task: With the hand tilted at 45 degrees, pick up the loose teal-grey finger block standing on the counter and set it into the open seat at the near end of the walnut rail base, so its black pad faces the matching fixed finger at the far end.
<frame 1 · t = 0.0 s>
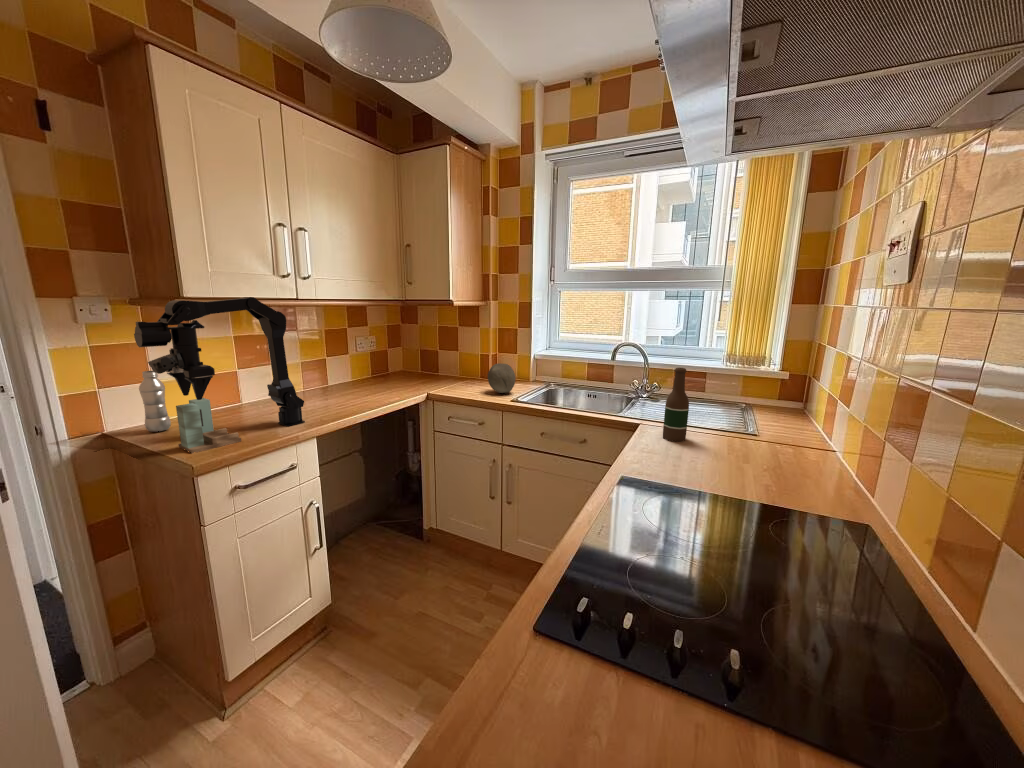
hand: (192, 397, 120), 15 cm above the worktop, tool pointing down, fingers open, 9 cm apart
finger block: (204, 436, 131), on the worktop
beer bottle: (673, 439, 137), on the worktop
rail: (210, 444, 124), on the worktop
plastic bottle: (159, 431, 135), on the worktop
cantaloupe: (501, 393, 202), on the worktop
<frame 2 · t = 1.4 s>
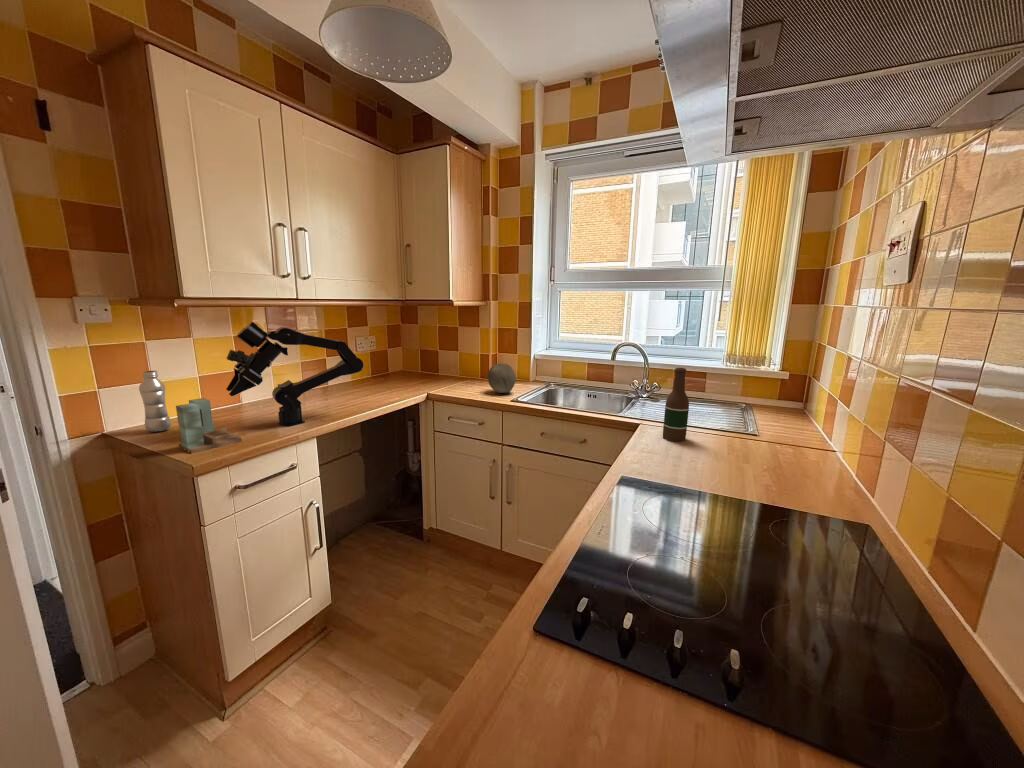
hand: (228, 392, 133), 13 cm above the worktop, tool tilted 45°, fingers open, 9 cm apart
nothing on the worktop moved.
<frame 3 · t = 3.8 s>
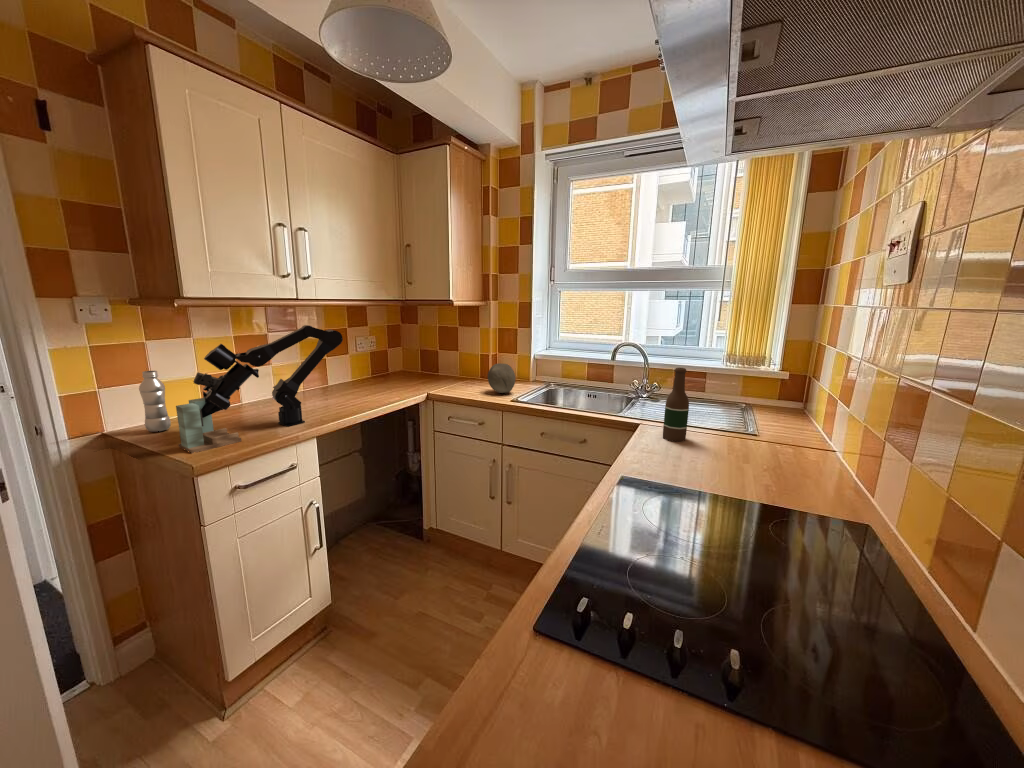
hand: (195, 417, 129), 7 cm above the worktop, tool tilted 45°, fingers closed on finger block, 5 cm apart
finger block: (204, 436, 131), on the worktop, touching gripper
everything else where it was.
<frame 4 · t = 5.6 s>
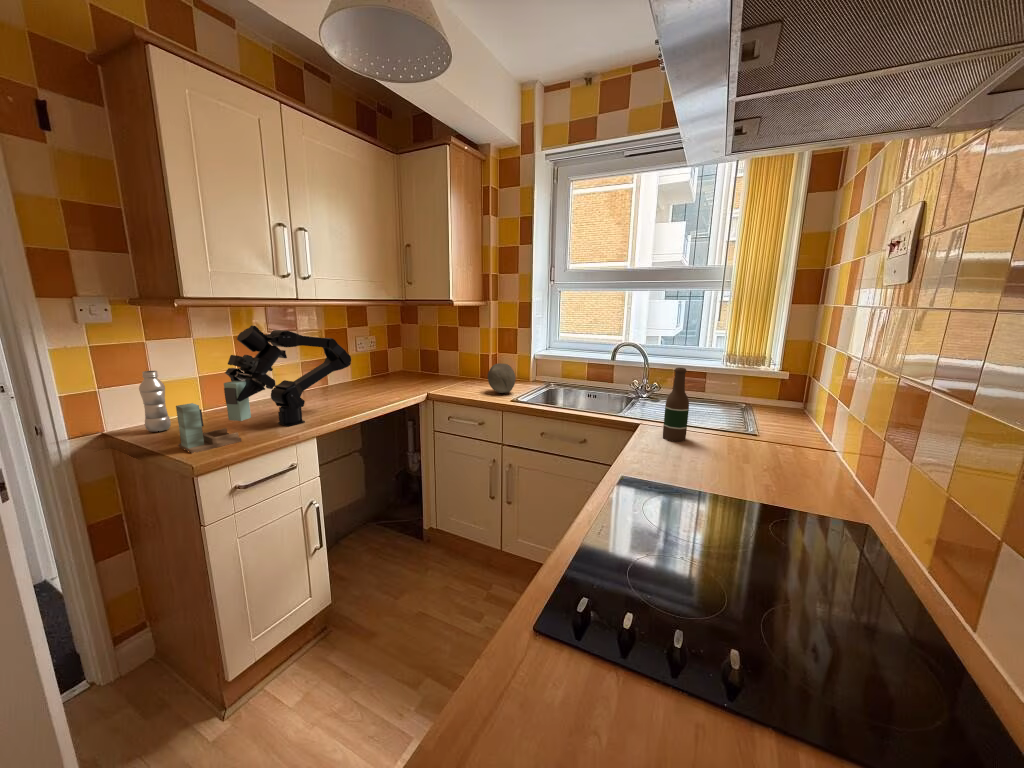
hand: (232, 399, 128), 12 cm above the worktop, tool tilted 45°, fingers closed on finger block, 5 cm apart
finger block: (240, 418, 130), point 6 cm above the worktop, touching gripper
everything else where it was.
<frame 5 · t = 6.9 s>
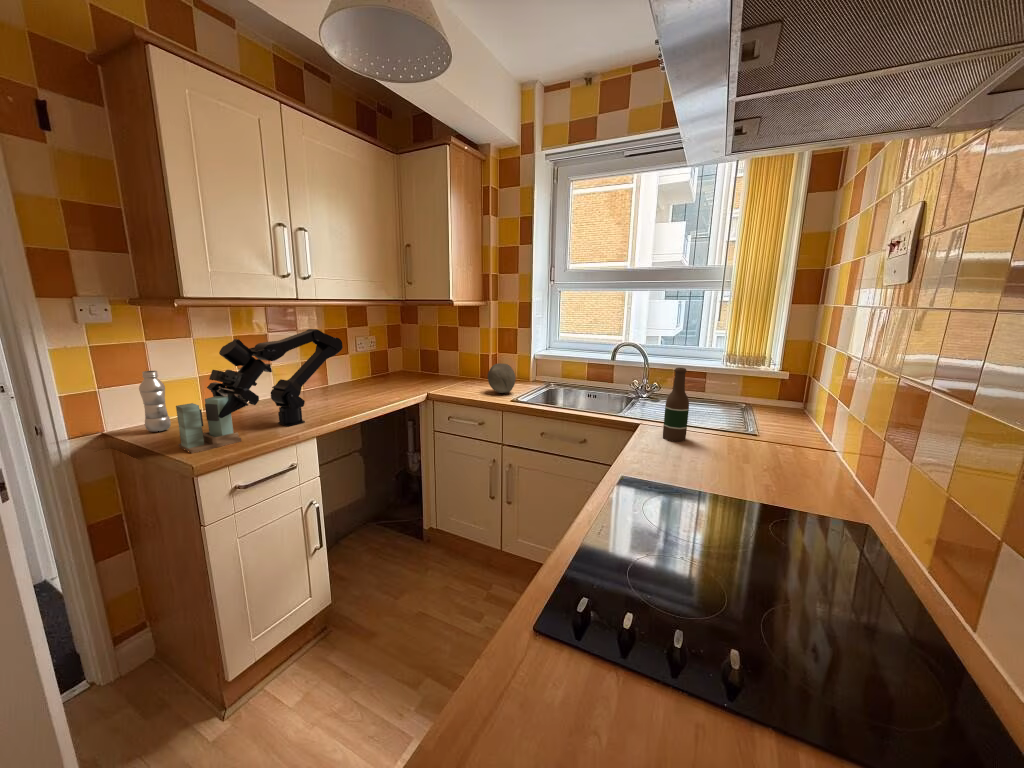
hand: (214, 416, 124), 8 cm above the worktop, tool tilted 45°, fingers closed on finger block, 5 cm apart
finger block: (221, 435, 126), point 2 cm above the worktop, touching gripper
everything else where it was.
when the fingers open (8 cm above the worktop, at t = 7.7 s): finger block stays where it is, resting on rail.
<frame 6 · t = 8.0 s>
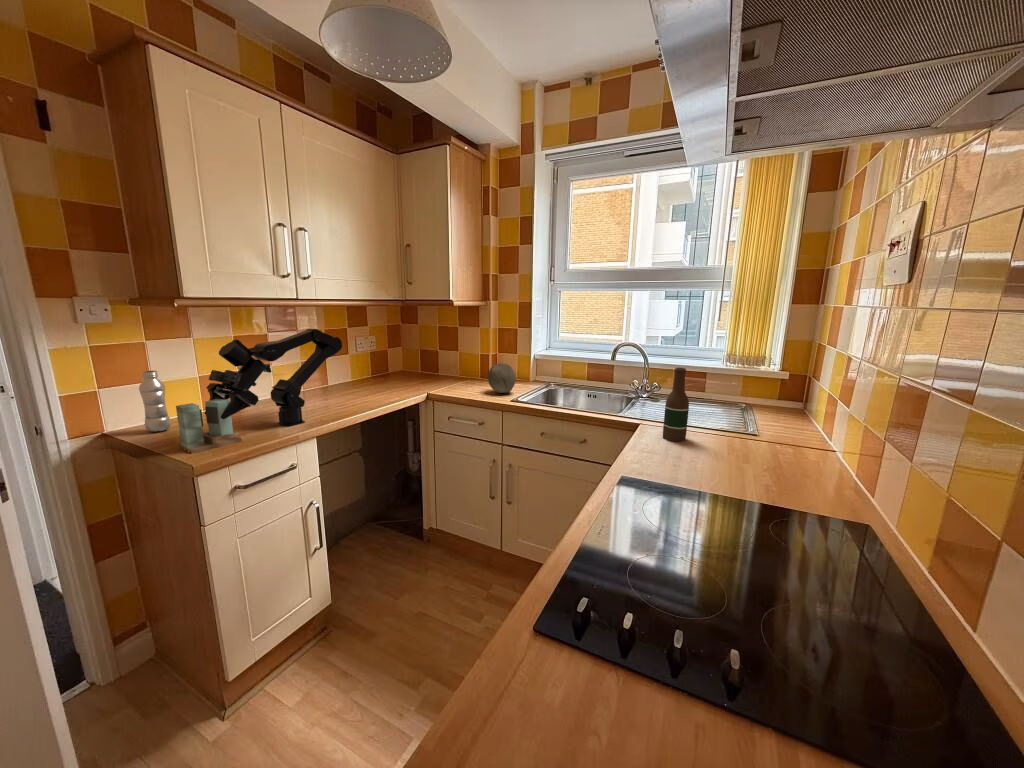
hand: (213, 416, 123), 8 cm above the worktop, tool tilted 45°, fingers open, 8 cm apart
finger block: (221, 438, 126), point 1 cm above the worktop, touching rail
everything else where it was.
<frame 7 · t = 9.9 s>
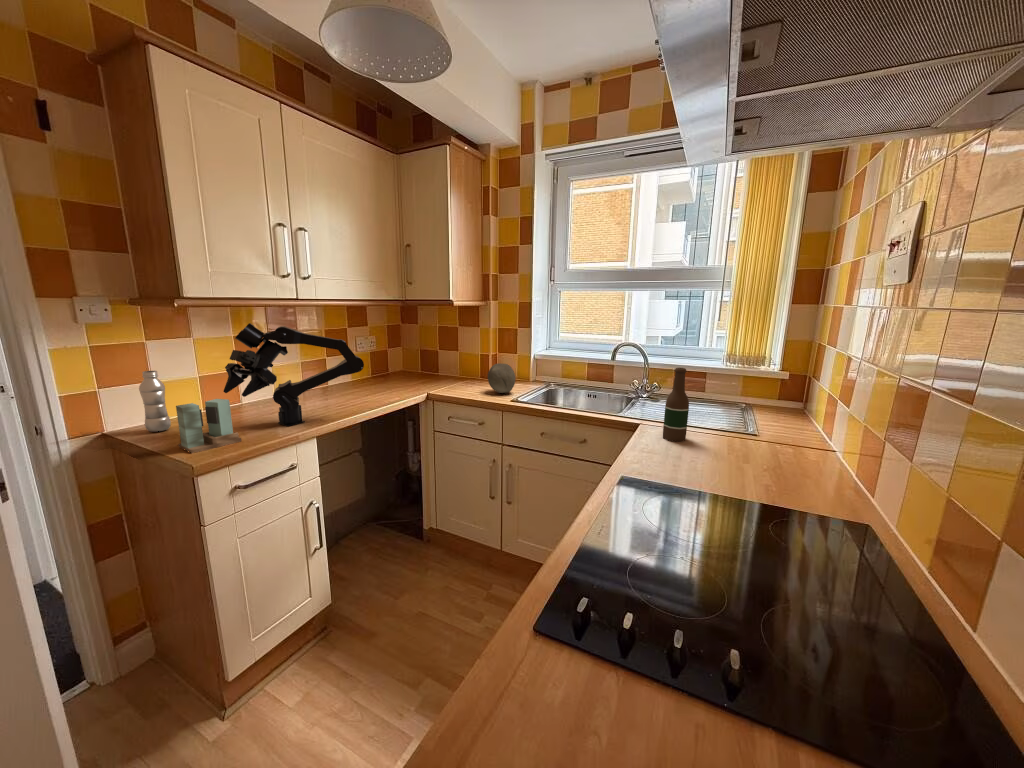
hand: (233, 394, 130), 14 cm above the worktop, tool tilted 45°, fingers open, 9 cm apart
nothing on the worktop moved.
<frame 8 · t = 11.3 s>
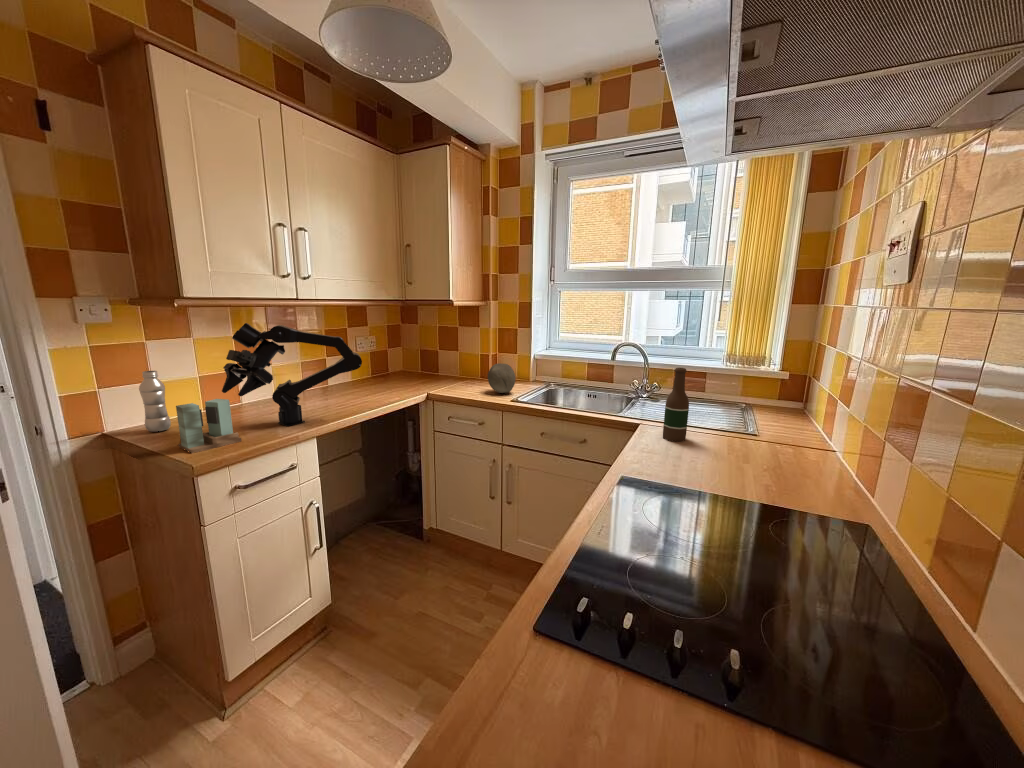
hand: (231, 394, 130), 14 cm above the worktop, tool tilted 45°, fingers open, 9 cm apart
nothing on the worktop moved.
at the end: finger block 0.2 cm from the target spot on the rail, point 1.0 cm above the rail's base; finger block tilted 0°; the gripper is holding nothing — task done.
